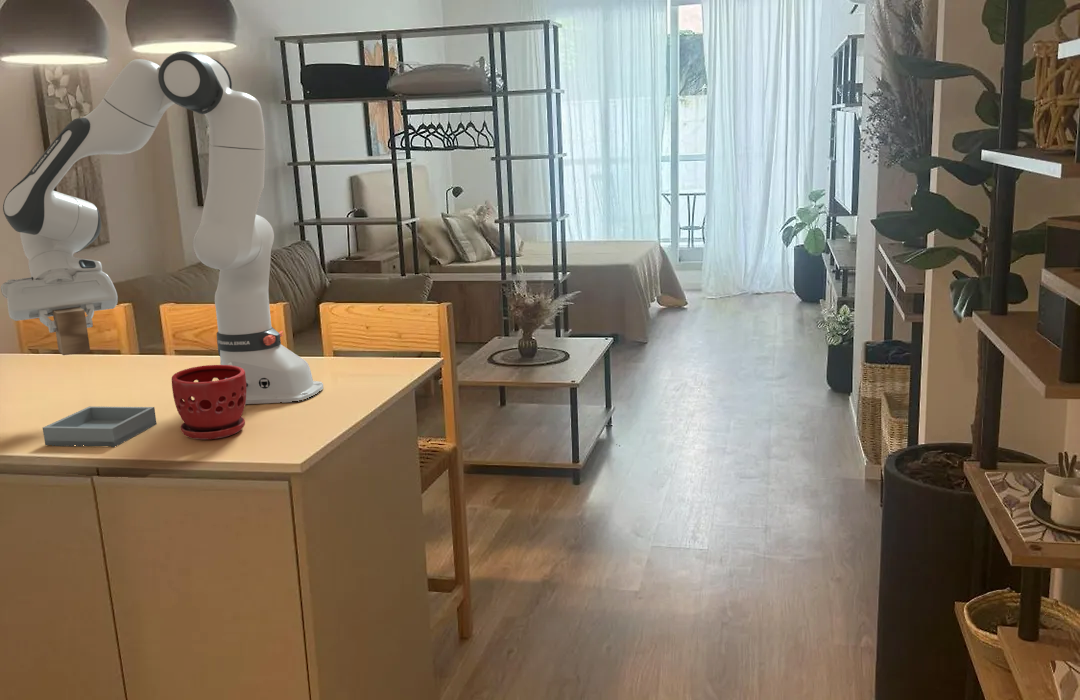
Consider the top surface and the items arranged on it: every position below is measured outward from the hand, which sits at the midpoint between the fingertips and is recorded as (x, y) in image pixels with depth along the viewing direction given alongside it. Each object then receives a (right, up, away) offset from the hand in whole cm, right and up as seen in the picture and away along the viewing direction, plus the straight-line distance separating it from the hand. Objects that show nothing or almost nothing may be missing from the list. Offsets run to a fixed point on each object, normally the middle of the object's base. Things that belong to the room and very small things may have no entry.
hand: (71, 328), depth 189 cm
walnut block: (0, -5, +2) cm, 5 cm away
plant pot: (+33, -20, -11) cm, 40 cm away
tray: (+11, -21, -10) cm, 25 cm away
